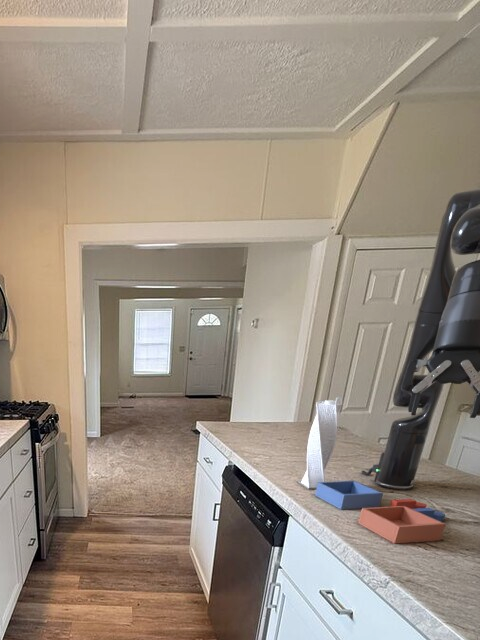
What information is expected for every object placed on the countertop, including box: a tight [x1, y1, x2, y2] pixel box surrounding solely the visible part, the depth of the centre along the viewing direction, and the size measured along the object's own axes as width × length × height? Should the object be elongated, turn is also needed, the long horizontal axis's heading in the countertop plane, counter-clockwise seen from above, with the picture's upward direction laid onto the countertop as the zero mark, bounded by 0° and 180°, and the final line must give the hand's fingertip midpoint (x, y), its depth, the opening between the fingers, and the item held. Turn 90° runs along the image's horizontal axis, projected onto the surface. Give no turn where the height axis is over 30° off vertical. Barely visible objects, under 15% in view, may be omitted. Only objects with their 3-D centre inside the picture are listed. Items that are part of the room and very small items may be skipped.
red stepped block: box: [389, 498, 427, 509], centre depth 108 cm, size 9×4×3 cm, turn 97°
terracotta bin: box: [357, 506, 447, 544], centre depth 95 cm, size 11×11×4 cm
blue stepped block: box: [413, 507, 446, 522], centre depth 101 cm, size 9×4×3 cm, turn 97°
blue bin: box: [314, 480, 384, 510], centre depth 114 cm, size 11×11×4 cm
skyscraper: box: [298, 395, 343, 490], centre depth 122 cm, size 8×8×28 cm
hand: (441, 415), depth 74 cm, fingers open, 8 cm apart
